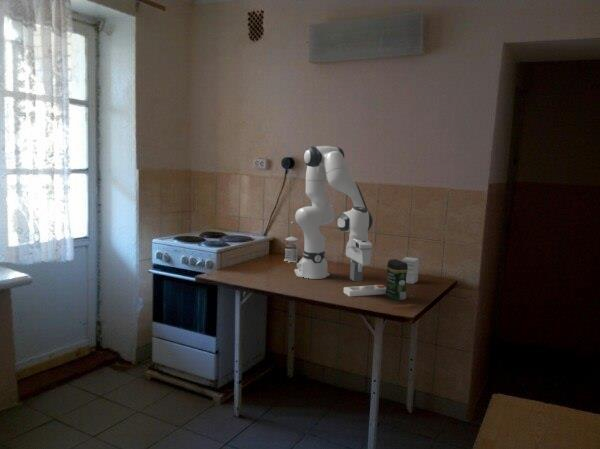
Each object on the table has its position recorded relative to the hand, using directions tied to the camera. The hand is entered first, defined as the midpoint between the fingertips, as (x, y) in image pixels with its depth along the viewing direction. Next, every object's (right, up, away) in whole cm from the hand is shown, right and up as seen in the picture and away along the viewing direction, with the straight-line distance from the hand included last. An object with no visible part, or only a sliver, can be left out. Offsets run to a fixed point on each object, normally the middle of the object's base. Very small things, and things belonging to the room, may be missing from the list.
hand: (356, 270), depth 232 cm
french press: (-32, -1, +73) cm, 80 cm away
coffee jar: (+18, -14, -1) cm, 23 cm away
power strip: (+5, -12, +3) cm, 14 cm away
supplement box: (+32, -9, +31) cm, 46 cm away
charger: (0, -5, +1) cm, 5 cm away
